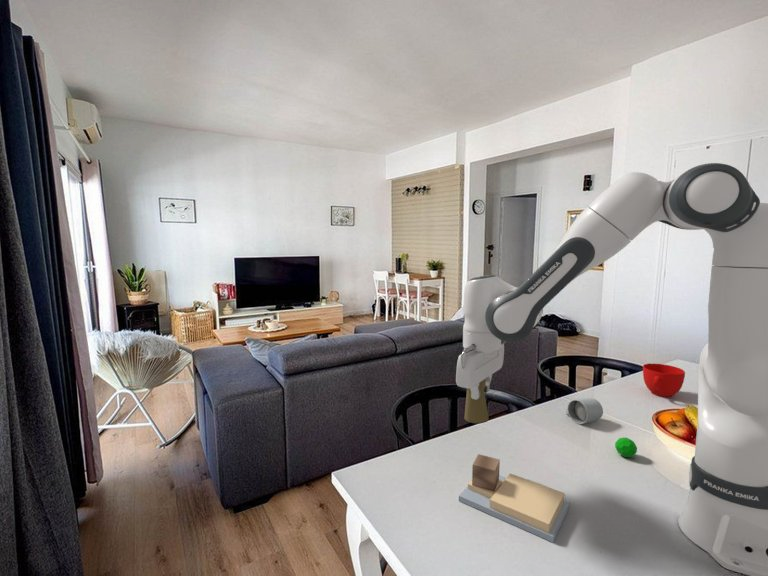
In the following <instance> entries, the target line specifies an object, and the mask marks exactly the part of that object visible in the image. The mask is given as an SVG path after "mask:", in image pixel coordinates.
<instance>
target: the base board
mask: <svg viewBox="0 0 768 576" xmlns="http://www.w3.org/2000/svg"><path fill="white" fill-rule="evenodd" d="M458 501H459V502H460V503H462V504H465V505H467V506H469V507H472V508H473V509H476V510H479V511H481V512H484V513H486V514H488V515H490V516H492V517H494V518H497V519H499V520H501V521H504V522H506V523H508V524H510V525H512V526H515V527H517V528H520V530H521V529H522V530H523V531H526V532H529V533H530V534H533V535H535V536H537V537H539V538H542V539H544V540H547V541H549V542H551V543H554V541H555V540H556V536H557V535H558V532H559V530H560V528H561V526H562V524H563V522H564V519H565V518H566V514H567V512H568V510H569V509H570V501H569V500H568V499H565V493H564V492H562V491H559V490H557V489H555V488H551V487H548V486H546V485H544V484H540V483H537V482H534V481H532V480H529V479H527V478H524V477H521V476H519V475H516V474H513V473H509V474H508V475H507V477H505V476H503V475H500V474H499V481H498V484H497V486H496V489H495V491H494V492H493V491H490V490H487V489H483V488H480V487H476V486H473V485H472V479H471V480H470V481H469V482H468V483H467V486H466V487H465V488H464V489H463V490H462V492H460V494H459V495H458Z"/></svg>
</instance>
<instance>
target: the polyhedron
mask: <svg viewBox="0 0 768 576" xmlns="http://www.w3.org/2000/svg"><path fill="white" fill-rule="evenodd" d="M614 444H615V445H614V447H615V449H616V451H617V454H619V455H621V456H622V457H624V458H633V457H634V456H635V455H636V454H637V452H638V447H637V445H636V443H635V442H634V441H633V440H632V439H631V438H629V437H619V438H618V439H617V440H616V441H615V443H614Z"/></svg>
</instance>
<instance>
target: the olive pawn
mask: <svg viewBox="0 0 768 576" xmlns="http://www.w3.org/2000/svg"><path fill="white" fill-rule="evenodd" d="M485 385H486V381H485V379H484V380H483V381H481V382H480V383H479V386H478V389H479V391H480V398H478V399H477V400H476V399H472V398H471V390H470V389H467V388H466V395H465V396H466V397H465V408H464V409H465V410H464V420H465V421H466V422H468V423H472V424H485V423H487V422H488V421H489V418H490V417H489V413H488V407H487V406H488V405H487V399H486V396H485V395H486V393H484V388H485Z"/></svg>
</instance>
